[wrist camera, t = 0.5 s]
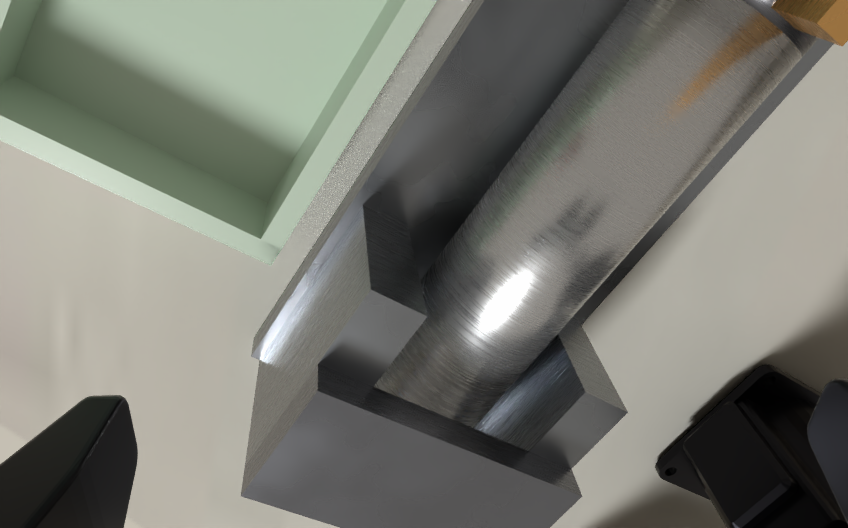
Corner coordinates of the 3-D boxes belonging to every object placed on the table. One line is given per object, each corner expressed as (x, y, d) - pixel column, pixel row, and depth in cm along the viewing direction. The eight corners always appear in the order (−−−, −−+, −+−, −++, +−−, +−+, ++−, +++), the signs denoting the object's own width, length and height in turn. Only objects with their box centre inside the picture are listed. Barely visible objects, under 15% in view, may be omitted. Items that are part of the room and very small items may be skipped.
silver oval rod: (773, -4, 18) (931, 46, 13) (448, 385, 24) (478, 517, 19) (668, -98, 16) (804, -79, 12) (349, 342, 22) (354, 473, 17)
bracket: (829, 15, 19) (1030, 79, 14) (468, 426, 26) (505, 580, 21) (601, -199, 16) (745, -227, 10) (254, 337, 23) (229, 492, 17)
